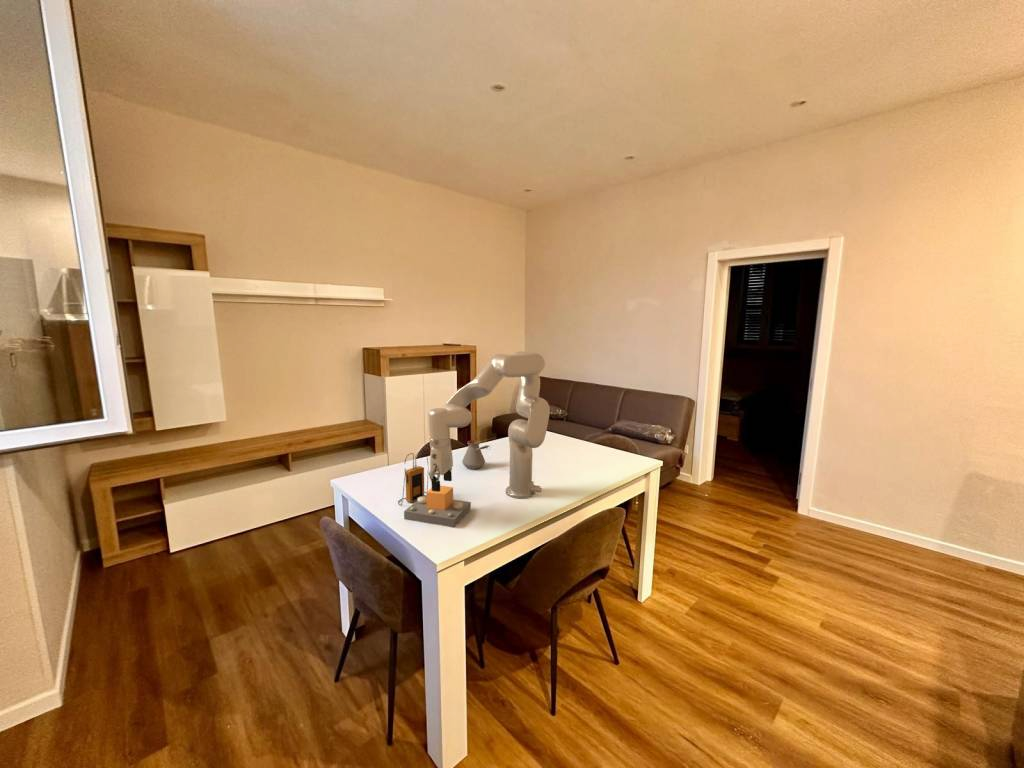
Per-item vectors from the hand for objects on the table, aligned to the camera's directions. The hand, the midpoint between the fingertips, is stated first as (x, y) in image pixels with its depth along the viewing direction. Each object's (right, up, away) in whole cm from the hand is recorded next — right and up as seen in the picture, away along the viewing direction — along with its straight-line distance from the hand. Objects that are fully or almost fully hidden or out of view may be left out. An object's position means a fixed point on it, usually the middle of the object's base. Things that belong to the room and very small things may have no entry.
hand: (442, 485), depth 152 cm
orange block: (-1, -7, +1) cm, 7 cm away
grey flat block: (-1, -11, 0) cm, 11 cm away
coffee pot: (+10, -4, +47) cm, 48 cm away
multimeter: (-16, -9, +14) cm, 23 cm away
